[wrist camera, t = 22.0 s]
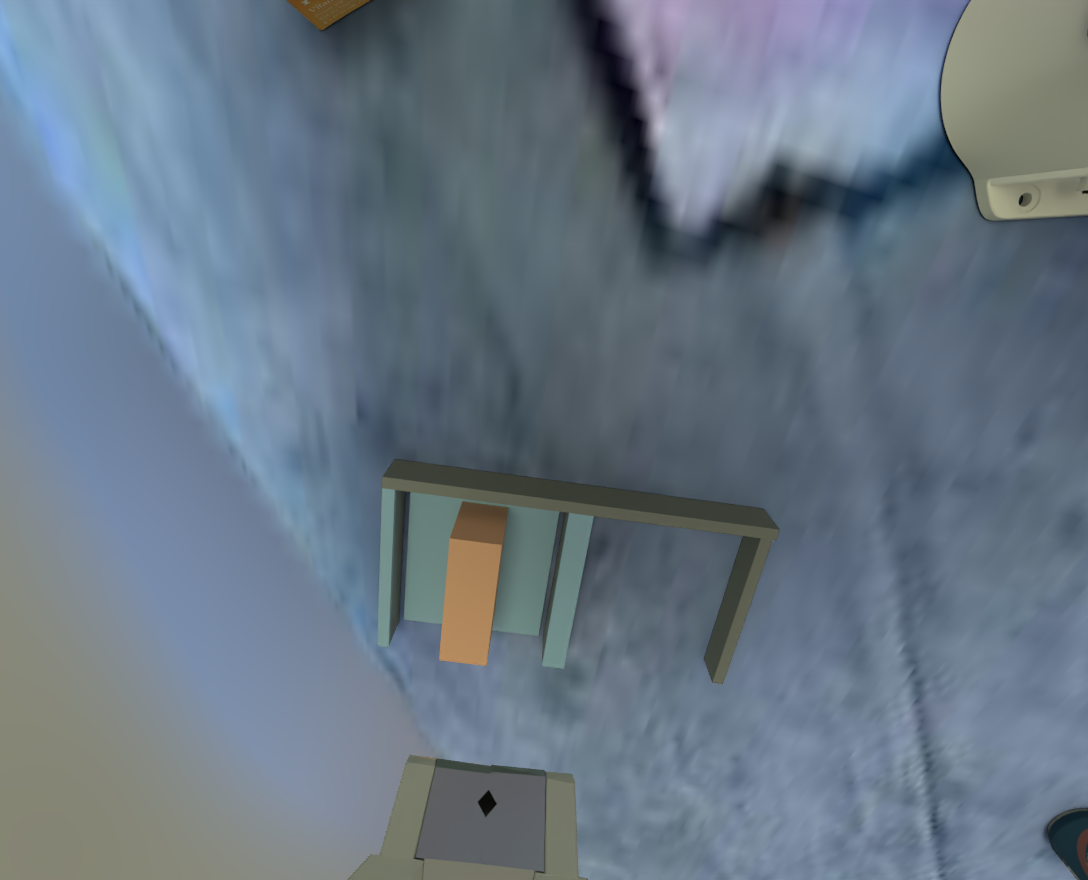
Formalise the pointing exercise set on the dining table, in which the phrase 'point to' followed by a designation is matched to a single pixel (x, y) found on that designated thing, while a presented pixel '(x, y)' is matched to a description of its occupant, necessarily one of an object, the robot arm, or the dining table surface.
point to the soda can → (1071, 840)
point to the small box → (325, 10)
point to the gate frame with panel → (544, 549)
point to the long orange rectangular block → (472, 582)
